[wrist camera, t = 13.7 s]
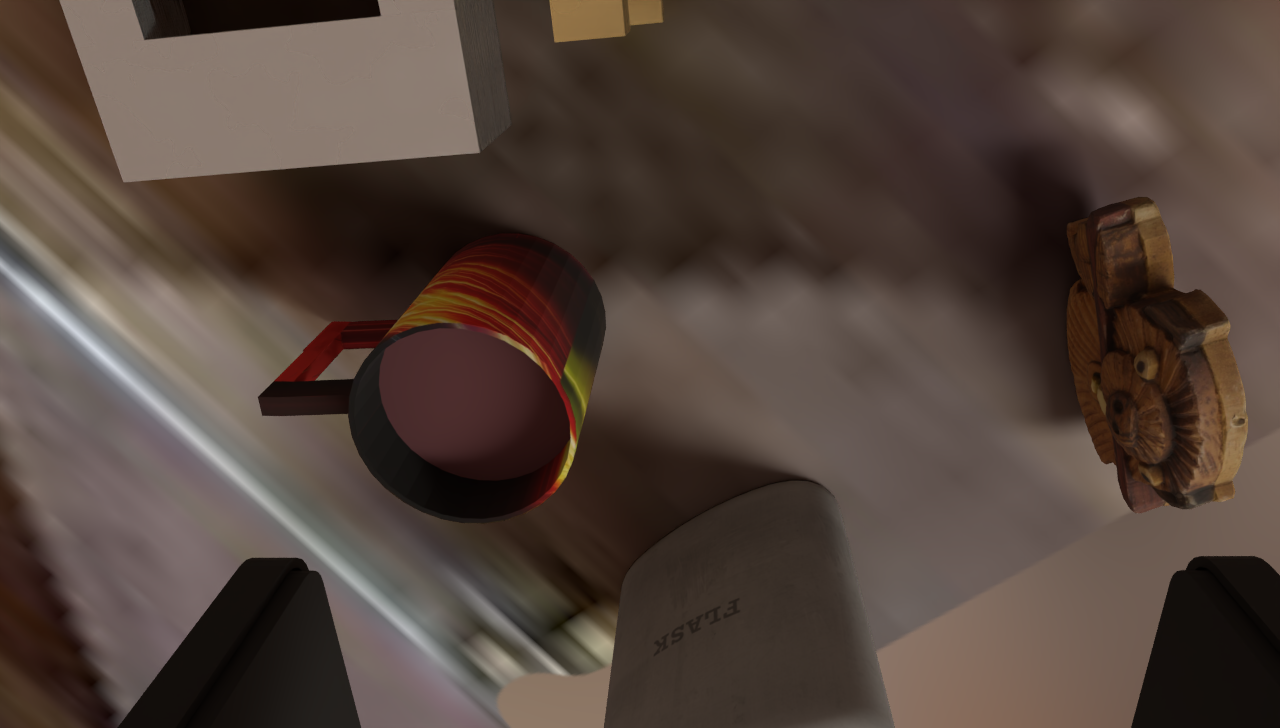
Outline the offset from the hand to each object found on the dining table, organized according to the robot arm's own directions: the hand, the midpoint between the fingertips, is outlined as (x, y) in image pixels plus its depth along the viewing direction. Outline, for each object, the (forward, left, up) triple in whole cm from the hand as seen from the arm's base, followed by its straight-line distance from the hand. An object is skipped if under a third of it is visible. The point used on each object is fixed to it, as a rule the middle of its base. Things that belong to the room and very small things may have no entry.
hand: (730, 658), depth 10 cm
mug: (+13, +10, -35) cm, 39 cm away
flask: (+1, +25, -35) cm, 44 cm away
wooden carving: (-19, +12, -35) cm, 42 cm away
